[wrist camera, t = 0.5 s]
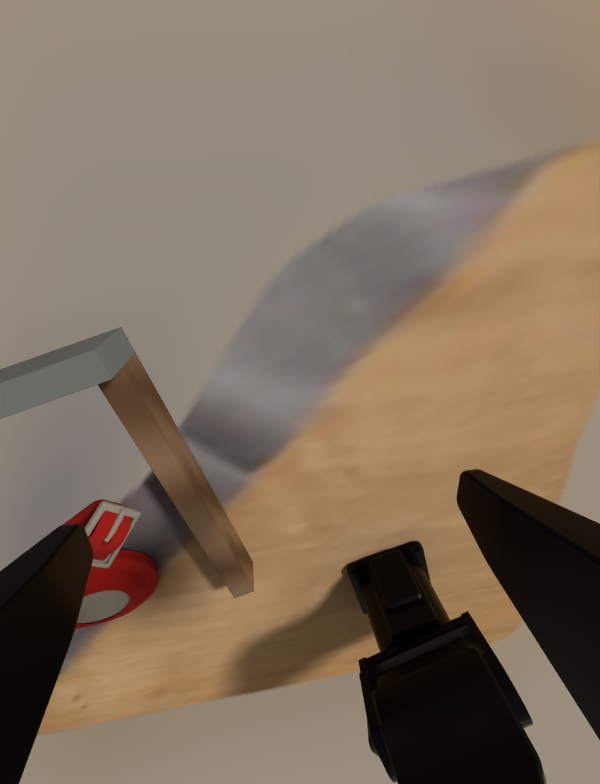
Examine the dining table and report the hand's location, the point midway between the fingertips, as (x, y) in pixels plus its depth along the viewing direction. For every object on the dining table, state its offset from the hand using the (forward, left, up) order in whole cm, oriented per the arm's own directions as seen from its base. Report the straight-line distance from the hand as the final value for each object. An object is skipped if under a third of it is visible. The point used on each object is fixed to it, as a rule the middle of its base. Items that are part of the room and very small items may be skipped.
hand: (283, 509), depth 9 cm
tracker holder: (-11, +16, -14) cm, 24 cm away
